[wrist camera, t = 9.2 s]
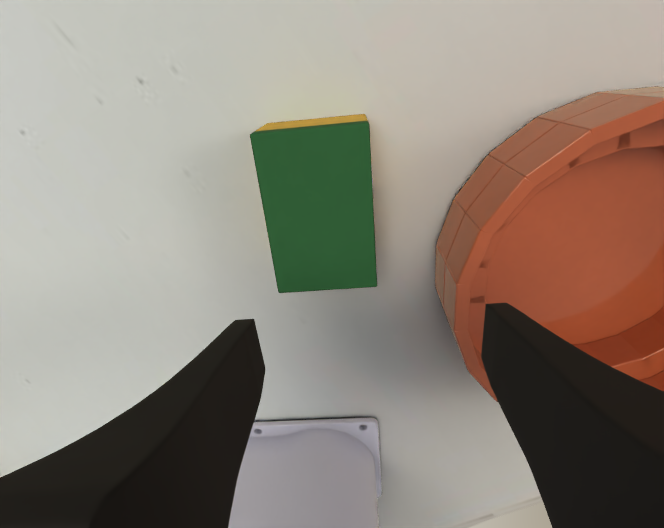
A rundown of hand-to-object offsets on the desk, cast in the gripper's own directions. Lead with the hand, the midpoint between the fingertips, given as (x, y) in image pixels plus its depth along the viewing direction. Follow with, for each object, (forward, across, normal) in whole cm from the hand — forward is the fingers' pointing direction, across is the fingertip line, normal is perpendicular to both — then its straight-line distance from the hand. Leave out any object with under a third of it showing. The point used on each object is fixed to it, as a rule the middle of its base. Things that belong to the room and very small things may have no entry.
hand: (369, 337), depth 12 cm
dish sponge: (+8, +2, -2) cm, 9 cm away
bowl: (+8, -11, +2) cm, 14 cm away
